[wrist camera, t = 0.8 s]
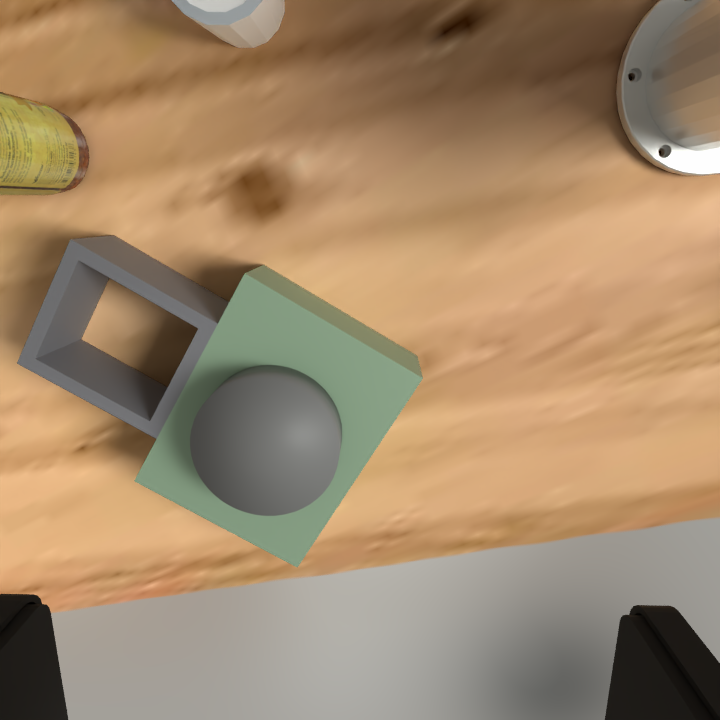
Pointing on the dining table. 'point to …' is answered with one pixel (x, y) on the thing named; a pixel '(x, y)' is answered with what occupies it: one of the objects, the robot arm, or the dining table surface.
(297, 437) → the grey and green blocks
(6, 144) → the sauce bottle
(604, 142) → the dining table surface
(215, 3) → the shot glass
